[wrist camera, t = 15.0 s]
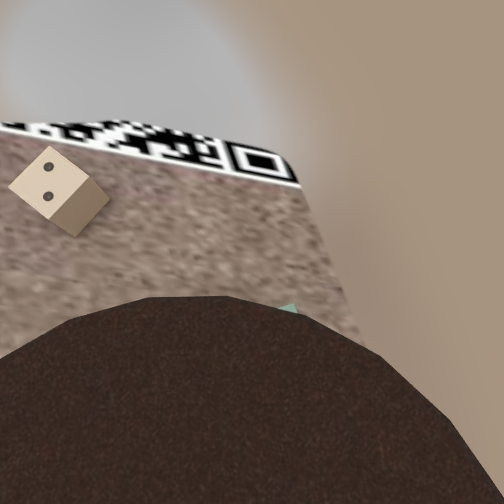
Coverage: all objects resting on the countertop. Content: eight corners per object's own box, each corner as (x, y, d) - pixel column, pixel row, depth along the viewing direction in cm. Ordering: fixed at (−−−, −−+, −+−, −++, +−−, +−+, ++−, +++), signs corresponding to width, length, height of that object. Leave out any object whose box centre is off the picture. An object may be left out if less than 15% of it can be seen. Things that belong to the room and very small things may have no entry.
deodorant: (305, 499, 16) (646, 1495, 2) (168, 480, 17) (-405, 1230, 2) (315, 356, 18) (542, 331, 4) (190, 341, 18) (-66, 263, 4)
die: (75, 237, 34) (47, 219, 29) (39, 208, 34) (6, 186, 30) (110, 199, 34) (88, 175, 30) (74, 171, 35) (48, 145, 31)
